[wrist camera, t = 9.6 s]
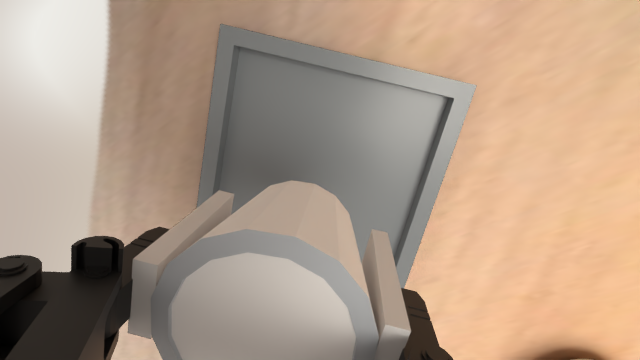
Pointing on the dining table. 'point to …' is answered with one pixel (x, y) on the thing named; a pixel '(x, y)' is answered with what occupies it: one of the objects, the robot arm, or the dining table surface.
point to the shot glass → (269, 285)
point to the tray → (332, 133)
